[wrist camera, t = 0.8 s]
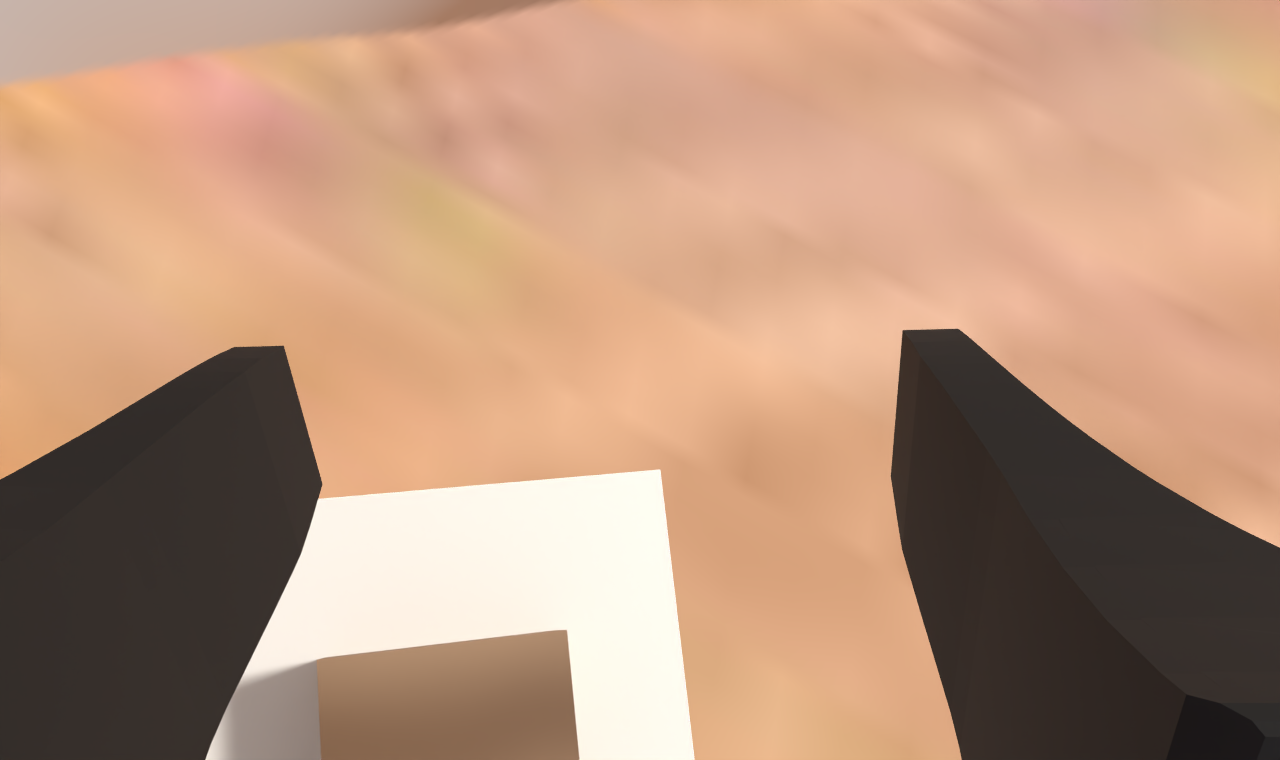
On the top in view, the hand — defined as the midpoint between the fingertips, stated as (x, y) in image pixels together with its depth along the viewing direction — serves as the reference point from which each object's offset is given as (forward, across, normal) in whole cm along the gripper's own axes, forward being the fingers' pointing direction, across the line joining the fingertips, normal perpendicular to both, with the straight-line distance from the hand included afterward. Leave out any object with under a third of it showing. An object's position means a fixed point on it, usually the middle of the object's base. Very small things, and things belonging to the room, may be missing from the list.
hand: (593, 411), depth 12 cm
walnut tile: (+4, +4, +11) cm, 13 cm away
